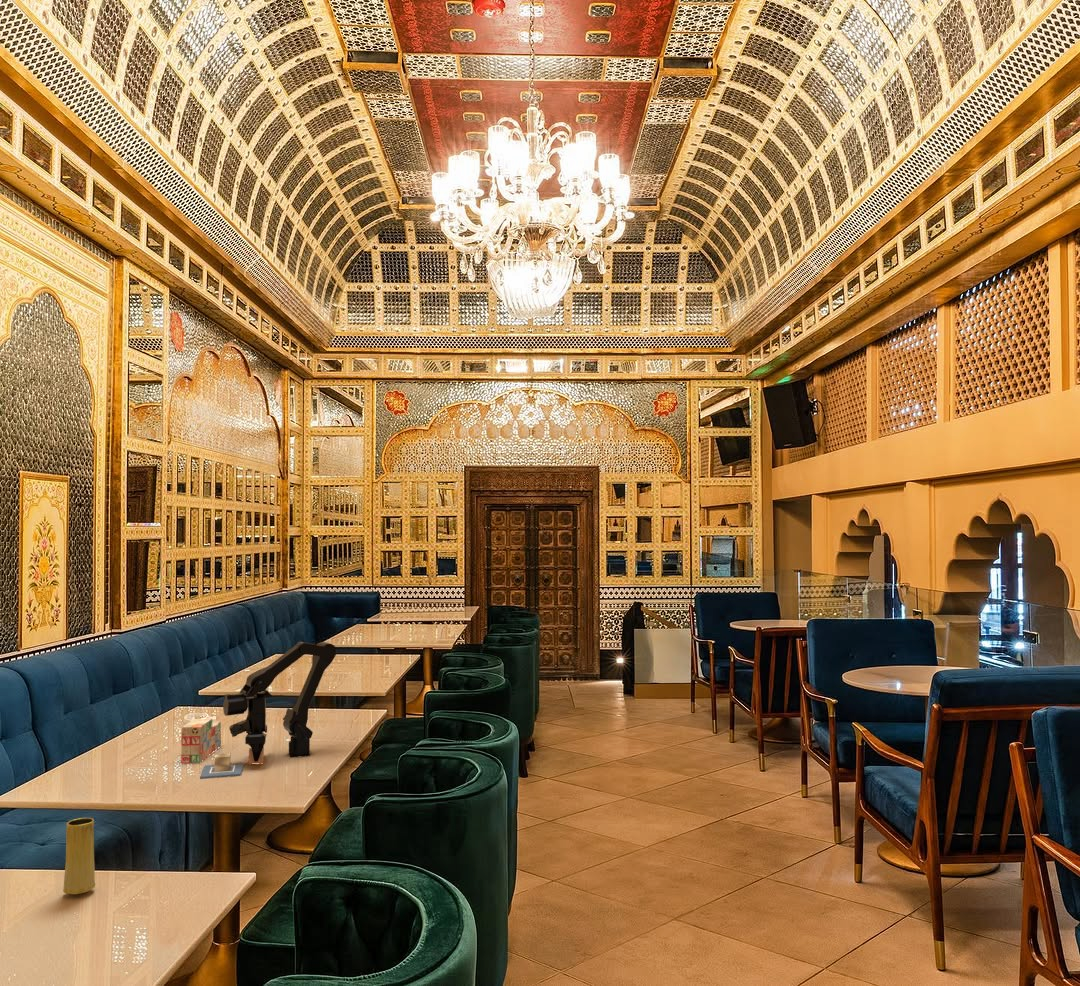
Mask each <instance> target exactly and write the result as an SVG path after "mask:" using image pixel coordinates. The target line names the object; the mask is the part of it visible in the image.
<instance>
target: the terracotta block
mask: <svg viewBox="0 0 1080 986" xmlns="http://www.w3.org/2000/svg"><path fill="white" fill-rule="evenodd" d="M264 752H265V748H264V747H263V749H262V752H261V754H260V757H259V759H258V761H257V762H255V761H254V758H253V753H252V749H251V747H249V749H248V765H249V764H252V763H263V764H264V762H263V761H265V759H264V758H265V755H264V754H265V753H264Z"/></svg>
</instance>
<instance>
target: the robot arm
mask: <svg viewBox="0 0 1080 986" xmlns="http://www.w3.org/2000/svg"><path fill="white" fill-rule="evenodd" d="M337 652H338V650H337V647H336V646H335V644H333V643H330V642H326V641H320V642H318V643H313V642H312V643H310V642H303V641H298V642H297V643H296V644H295V645H294V646H293V647H292V648H290V649H288V650H287V651H286V652H284V653H283V654H281V656H279V657H278V658H277V659H276V660H274V661H273V662H272V663H270V664H269V665H268V666H265V667H262V668H260V669H258V670H257V671H253V672H252V673H250V674H249V675H248V676H247V678H246V680H245V684H244V686H243V687H242V688H241V690H240V691H239V692H238V693H234V694H233V693H231V694H230V693H227V694H225V698H224V700H223V704H222V708H223V714H224V716H225V717H228V716H235V715H237V716H238V715H243V714H245V713H246V712H247V715H246V719H244V720H241V721H238V722H235V723H233V724H231V725H230V726H229V731H230V734H231V737H232V738H235V737H237V736H238V735H240V734H243V733H245V732H246V733H245V734H246V735H245V738H244V740H245V741H244V743H245V745H248V746H250V748H251V749H252V753H253V758H254V761H255V762H257V761H258V759H259V757H260V754H261V752H262V749H263V747H264V746H265V744H266V741H267V740H266V738H267V736H268V734H267V733H268V724H266V720H267V719H266V718H267V711H266V710H267V706H266V705H267V703H266V700H267V699H268V698H269V699H270V698H272V697H273V695H272V694H271V693H270V692H269V690H267V689H268V687H270V685H272V683H273V682H274V681H275V678H277V676H279V675H280V674H282V673H283V672H284V671H285V670H286V669H288V668H289V667H290V666H291V665H293V664H294V663H295V662H297V661H298V660H299V659H300V658H302V657H303V656H304V655H309V656H311V657H312V662H311V667H310V670H309V673H308V675H307V677H306V679H305V682H304V684H303V687H302V688H301V691H300V693H299V695H298V699H297V701H296V703H295V705H294V706H293V707H292V708H289V707H287V709H286V712H285V715H284V716H283V718H282V720H283V724H282V725H283V727H284V730H285V731H287V732H288V736H290V740H289V741H288V755H289V758H299V757H298V756H302V757H310V756H311V751H310V750H311V747H310V745H311V742H310V741H311V740H310V739H312V736H313V734H314V732H313V731H312V730H311V729H310V728H309V727H308V726H307V724H308V721H309V709H310V706H311V704H312V701H313V700H314V697H315V694H316V691H317V690H318V687H319V684H320V682H321V680H322V678H323V675H324V672H325V671H326V670H327V669H328V667H329V666H330V665H331V664H332V663H333V660H334V659H335V657H336V655H337Z"/></svg>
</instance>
